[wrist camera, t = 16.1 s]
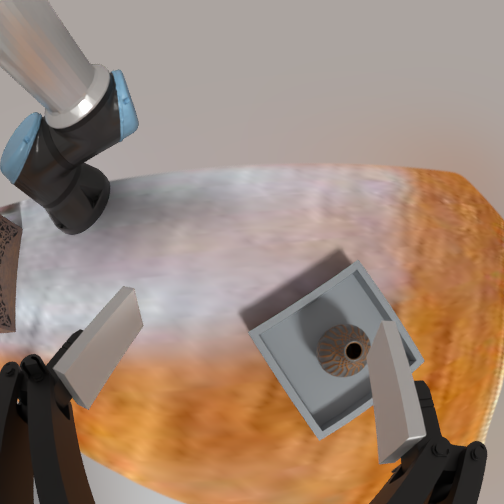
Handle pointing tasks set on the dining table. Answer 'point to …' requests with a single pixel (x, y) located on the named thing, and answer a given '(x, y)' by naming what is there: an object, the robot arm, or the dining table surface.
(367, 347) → the vase
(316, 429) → the box
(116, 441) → the dining table surface
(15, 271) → the tissue box cover
